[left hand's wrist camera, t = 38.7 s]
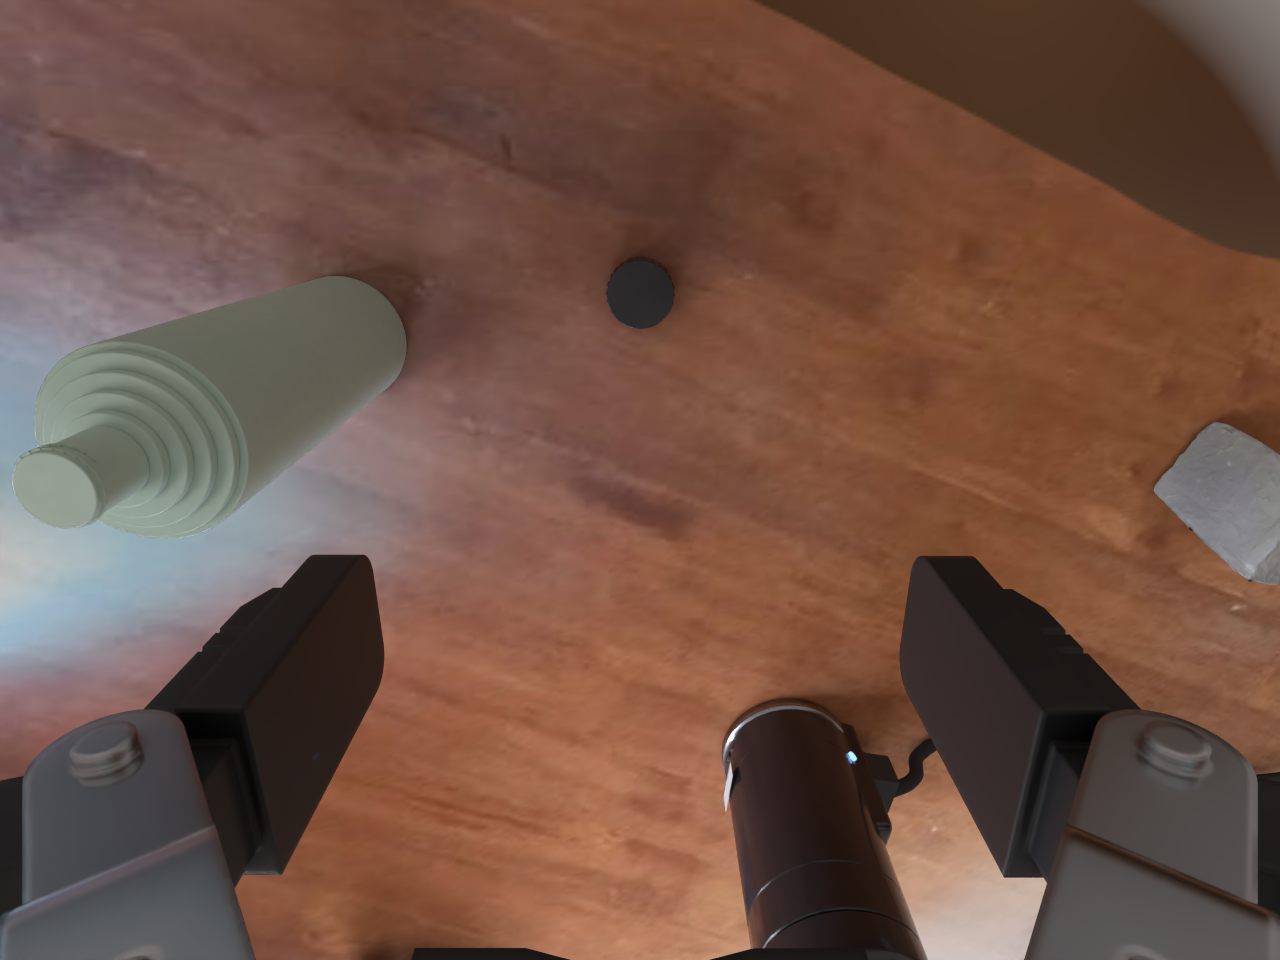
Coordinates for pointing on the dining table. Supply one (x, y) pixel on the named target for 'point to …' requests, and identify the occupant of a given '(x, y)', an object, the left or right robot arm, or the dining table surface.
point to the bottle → (204, 407)
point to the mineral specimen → (1230, 499)
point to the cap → (640, 293)
